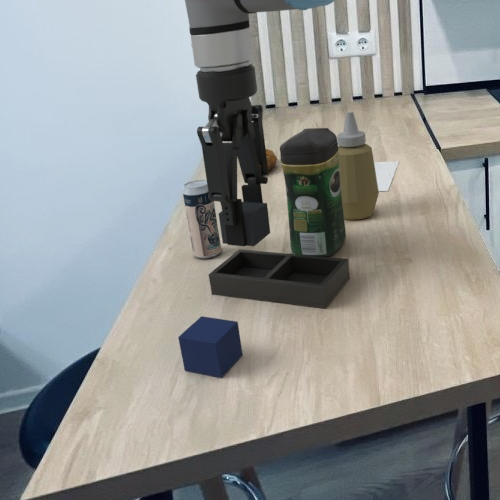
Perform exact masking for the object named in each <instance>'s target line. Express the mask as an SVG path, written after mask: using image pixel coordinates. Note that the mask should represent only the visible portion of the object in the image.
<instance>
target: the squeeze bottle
mask: <svg viewBox="0 0 500 500" xmlns="http://www.w3.org/2000/svg"><path fill="white" fill-rule="evenodd" d="M356 120H357V119H356V117H355V114H354V111H347V112H345V118H344V125H343V131H342V132H341V133H338V134H337V135H336V137H337V143H338V151H339V175H340V186H341V195H342V205H343V213H344V220H351V221H353V220H364V219H367V218H370V217H371V216H373V215H374V212H375V208H376V205H377V201H378V198H379V194H380V191H379V190H378V184H377V178H376V172H375V165H374V162H375V160H374V155H373V154H374V153H373V149H372V148H373V147H372V146H371V145H369V144H367V143H366V142H367V138H366V133H365V132H364V131H361V130H359V127H358V124H357V121H356Z"/></svg>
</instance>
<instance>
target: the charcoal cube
mask: <svg viewBox="0 0 500 500" xmlns="http://www.w3.org/2000/svg"><path fill="white" fill-rule="evenodd" d="M242 207H243V216H244V223H245V231H246V238H247V245H246V246H245V247H256V246H257V245H258V244H259V243H260V242H262V241H263V240H264V239H265V238H266V237H267V236H269V234H271V226H270V217H269V216H270V215H269V209H268V208H269V207H268V203H267V202H263V203H256V202H243V201H242ZM218 221H219V226H220V227H219V228H220V234H221V241H222V244H224V245H228V244H227V237H226V230H225V224H224V220H223V213H222V210H221V211H220V212H219V213H218Z"/></svg>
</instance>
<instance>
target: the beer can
mask: <svg viewBox="0 0 500 500" xmlns="http://www.w3.org/2000/svg"><path fill="white" fill-rule="evenodd" d="M181 193H182V196H183V202H184V207H185V208H184V209H185V213H186V219H187V220H186V221H187V225H188V231H189V237H190V243H191V249H192V255H193V256H194V257H196V258H198V259H202V260H205V259H207V260H208V259H212V258H215V257H217V256H218V255H219V254H220V253H221V252H222V250H223V249H222V246H221V244H222V243H221V238H220V232H219V226H218V220H217V219H218V218H217V213H216V206H215V201H210V199H209V193H208V186H207V179H206V180H205V179H198V180H197V179H196V180H192V181H188V182H186V183H184V185H183V188H182V191H181Z"/></svg>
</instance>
